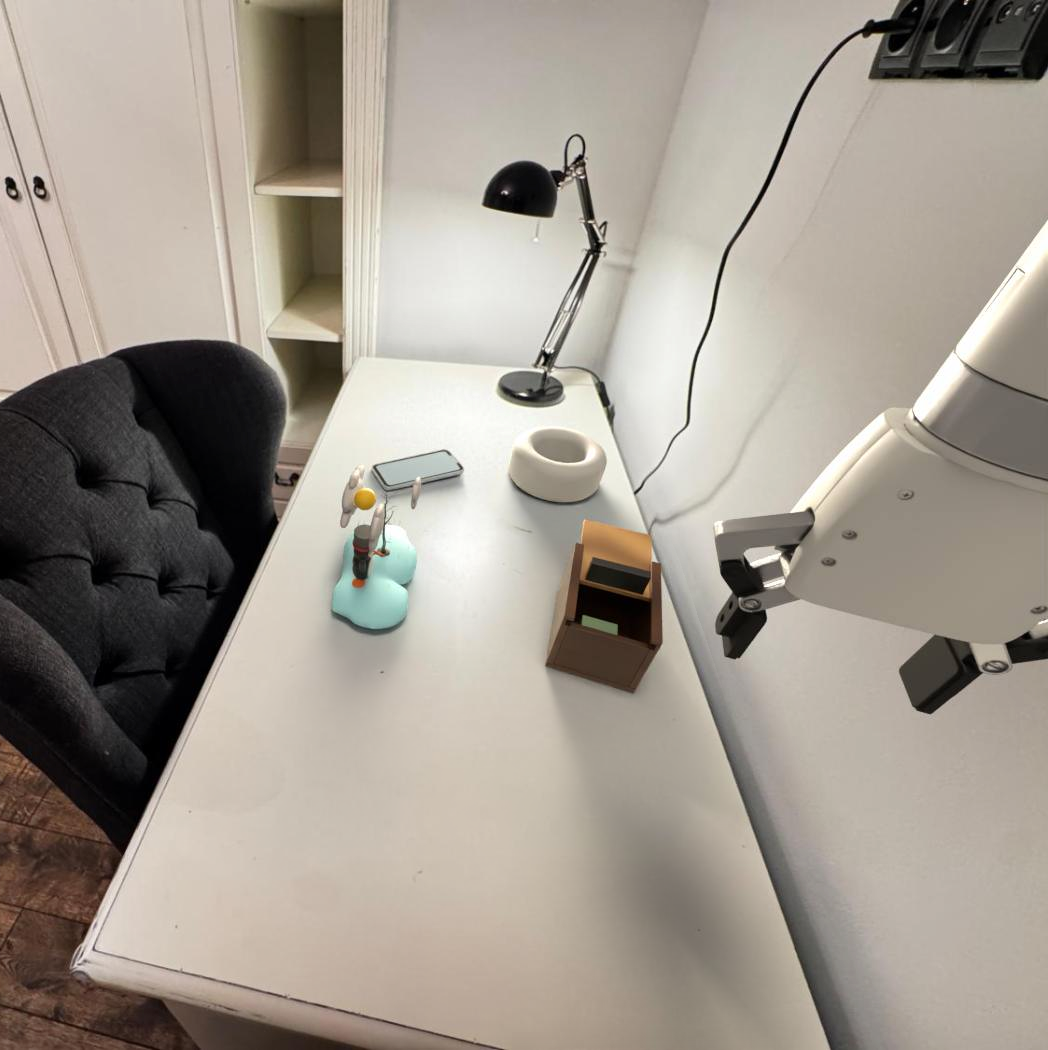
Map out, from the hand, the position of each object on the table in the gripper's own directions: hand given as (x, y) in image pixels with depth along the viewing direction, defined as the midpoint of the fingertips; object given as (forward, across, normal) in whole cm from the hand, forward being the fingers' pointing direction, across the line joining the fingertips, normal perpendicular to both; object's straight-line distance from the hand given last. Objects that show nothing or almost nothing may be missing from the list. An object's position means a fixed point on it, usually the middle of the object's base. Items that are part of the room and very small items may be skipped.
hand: (816, 666), depth 35 cm
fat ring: (+28, +16, -57) cm, 66 cm away
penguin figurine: (+28, +36, -23) cm, 51 cm away
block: (+28, +7, -20) cm, 35 cm away
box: (+28, +7, -24) cm, 37 cm away
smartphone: (+28, +38, -50) cm, 69 cm away
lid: (+20, +7, -30) cm, 37 cm away
